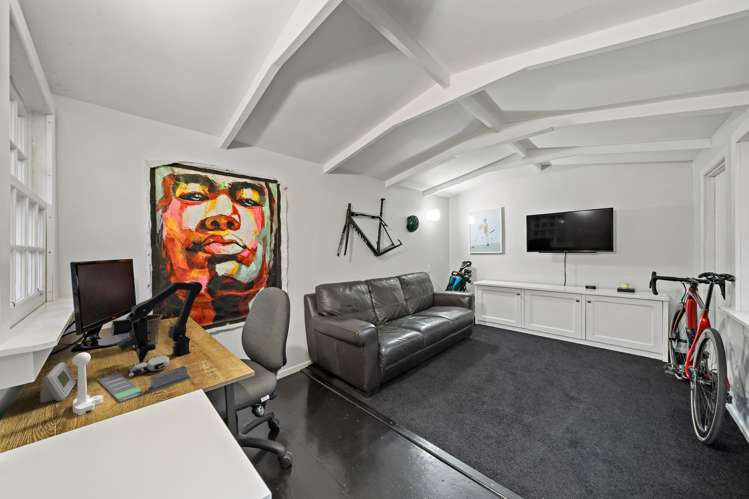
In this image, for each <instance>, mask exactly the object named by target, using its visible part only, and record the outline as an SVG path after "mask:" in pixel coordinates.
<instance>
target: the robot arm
mask: <svg viewBox="0 0 749 499" xmlns="http://www.w3.org/2000/svg"><path fill="white" fill-rule="evenodd" d="M180 290H182V291H185V298H184V301H183V303H182V307H181V309H180V312H179V315H178V317H177V319H176V322H175V323H174V325H170V326H169V329H168V332H167V334H168V336H167V337H168V338H169V339H170V340H171V341H173V346H172V347H171V348H172V349H171V350H172V354H171V355H173V356H175V357H176V358H177V357H181V356H184V355H187V354H190V353H191V351H190V341H191V338H190V337H188V336H187V324H188V320H189V317H190V315H191V312H192V309H193V306H194V303H195V300H196V298H197V297H198V296H199V295H200V293H201V292H202V290H203V284H202V282H199V281H194V280H193V281H189V282H182V281H181V282H180V281H174V282H172V283H171V284H169V285H168V286H167V287H165V288H163V289H162V290H161V291H160V292H158V293H156V294H155V295H153V296H152V297H151V298H149V299H147V300H144V301H141V302H139V303H137V304H135V305H133V307H131V311H130V313H129V314H128V315H127V317H125V319H123V318H122V319H118V320H117V319H116V320H112V322H111V326H110V332H111V333H110V334H111V337H115V336H120V335H126V334H129V331H131V330H132V323H133V333H132V334H131V337H130V336H129V337H127V338H125V339H122V340H121V341H119V342H117V343H116V346H117V348H118V350H120V351H121V352H122V351H126V350H127V349H129V348H130V349H131V350H132V351H133V352H135V353H136V354H135V355H136V356H137V359H138V362H139V363H143V362H144V360H145V358H147V354H148V353H149V352H150V351H154V350H156V344H155V345H154V344H152V343H148V342H150V340H149V339H148V334H150V332H149V331H148V320H153V318H152V317H150V315H151V314H150V313H151V312H152V311H153V310H154V309H155V308H156V306H158V305H159V304H160V303H162V302H163V301H165V300H167V298H169V297H171V296H172V295H173V294H175V293H176V292H177V291H180ZM145 316H146V317H145ZM141 317H142V318H141ZM131 346H133V348H131Z"/></svg>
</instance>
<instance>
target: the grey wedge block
mask: <svg viewBox="0 0 749 499" xmlns="http://www.w3.org/2000/svg"><path fill="white" fill-rule="evenodd" d="M188 380H191V375H188V367H187V366H185V365H182V366H180V367H177V368H173V369H170V370H167V371H163V372H161V373H158V374H155V375H152V376H150V386H149V387H147V391H148V392H150V393H154V392H156V391H157V392H158V391H159V390H160V391H161V390H163V389H166V388H168V387H170V386H174V385H176V384H179V383H182V382H185V381H188Z"/></svg>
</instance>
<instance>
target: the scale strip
mask: <svg viewBox="0 0 749 499" xmlns="http://www.w3.org/2000/svg"><path fill="white" fill-rule="evenodd" d="M97 382H98V383H100V384H101V385H102V387H104V389H106V391H107V392H109V393H110V394H111V395H112V396H113V398H115V400H117V402H119V403H121V404H122V403H124V402H127V401H131V400H133V399H136V398H138V397H140V396H144V395H145V392H144V391H142V390H141V389H140V388H139V387H138V386H136V385H134V384H133V382H132V381H130V380H129V379H127V378H126V377H125V376H123V375H122V374H121V373H120V372H119V373H114V374H111V375H108V376H105V377H100V378H97Z"/></svg>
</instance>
